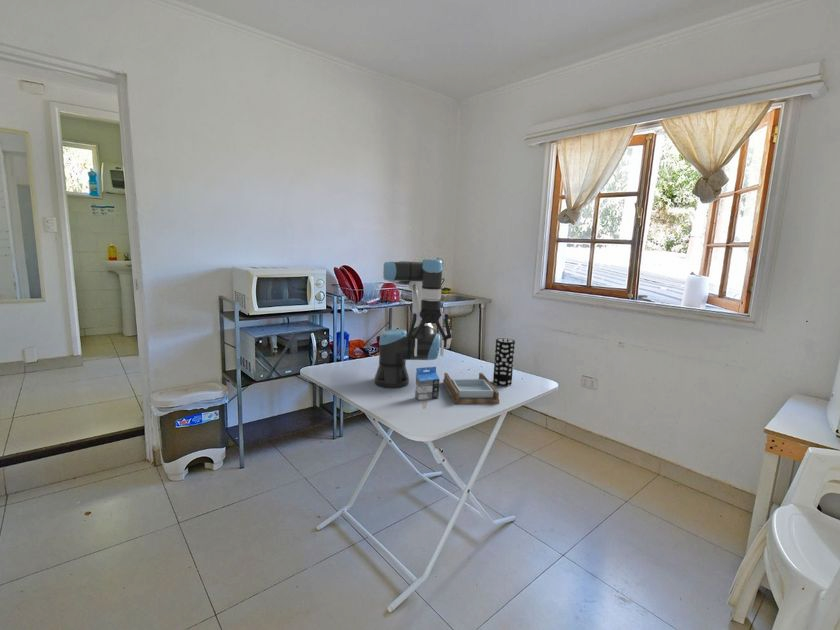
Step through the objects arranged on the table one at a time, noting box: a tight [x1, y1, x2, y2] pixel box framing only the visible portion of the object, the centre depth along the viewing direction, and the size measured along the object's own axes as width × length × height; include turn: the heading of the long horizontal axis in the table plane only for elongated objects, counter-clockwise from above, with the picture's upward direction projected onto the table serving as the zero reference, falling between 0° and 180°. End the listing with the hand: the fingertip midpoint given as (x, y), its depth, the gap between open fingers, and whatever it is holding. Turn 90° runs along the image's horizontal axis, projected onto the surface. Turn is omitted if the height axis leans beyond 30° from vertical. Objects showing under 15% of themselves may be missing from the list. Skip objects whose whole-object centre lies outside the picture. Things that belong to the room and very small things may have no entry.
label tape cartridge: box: [414, 366, 440, 401], centre depth 163 cm, size 9×4×12 cm, turn 112°
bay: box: [442, 372, 500, 405], centre depth 172 cm, size 18×25×4 cm
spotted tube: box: [492, 337, 516, 387], centre depth 184 cm, size 8×8×20 cm
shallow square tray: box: [451, 378, 494, 398], centre depth 168 cm, size 14×14×3 cm
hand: (428, 355), depth 161 cm, fingers open, 10 cm apart
